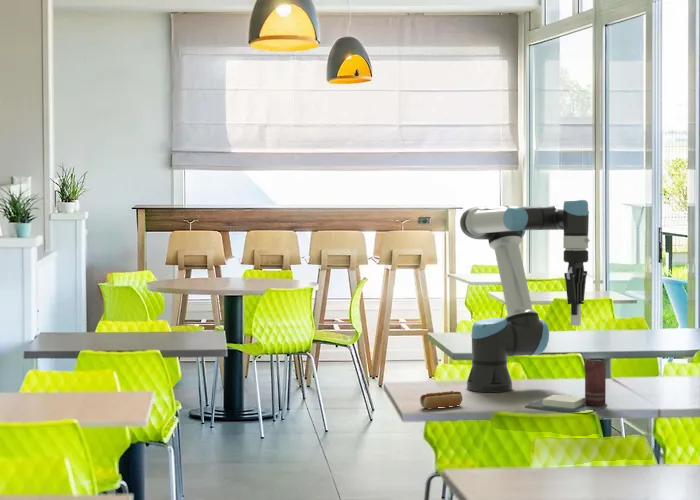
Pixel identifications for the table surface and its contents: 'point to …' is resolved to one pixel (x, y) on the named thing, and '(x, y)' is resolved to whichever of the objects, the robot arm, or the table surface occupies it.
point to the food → (441, 399)
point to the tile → (563, 402)
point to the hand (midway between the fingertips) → (575, 325)
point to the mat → (539, 405)
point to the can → (595, 382)
